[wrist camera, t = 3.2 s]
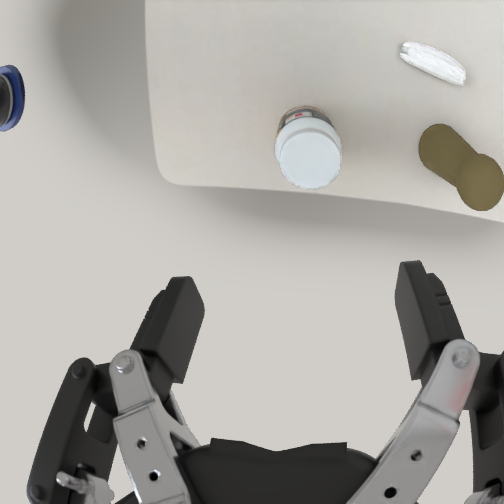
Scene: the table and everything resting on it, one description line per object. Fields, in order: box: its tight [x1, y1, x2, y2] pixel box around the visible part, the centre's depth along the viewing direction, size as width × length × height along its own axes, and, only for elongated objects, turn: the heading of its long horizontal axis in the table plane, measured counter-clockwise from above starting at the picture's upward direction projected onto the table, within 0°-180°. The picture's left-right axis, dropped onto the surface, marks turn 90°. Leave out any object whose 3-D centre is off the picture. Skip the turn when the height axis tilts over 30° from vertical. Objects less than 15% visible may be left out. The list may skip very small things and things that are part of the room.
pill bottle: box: [275, 106, 342, 189], centre depth 24 cm, size 6×6×10 cm
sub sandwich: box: [400, 42, 466, 86], centre depth 19 cm, size 3×8×3 cm, turn 83°
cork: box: [419, 124, 504, 211], centre depth 21 cm, size 6×6×11 cm
